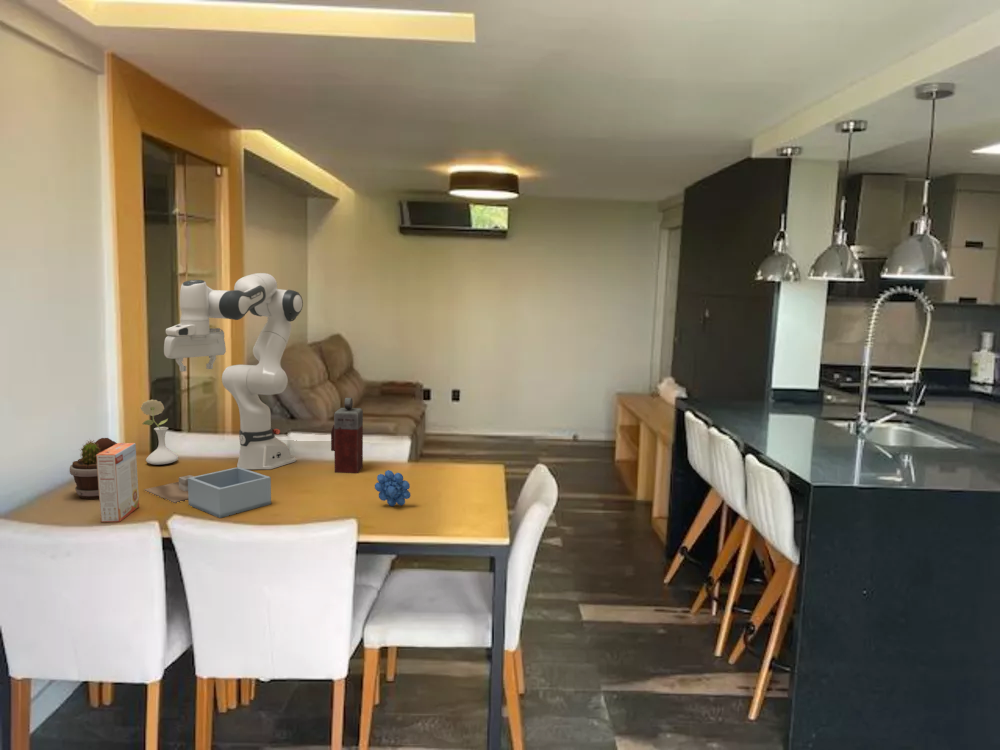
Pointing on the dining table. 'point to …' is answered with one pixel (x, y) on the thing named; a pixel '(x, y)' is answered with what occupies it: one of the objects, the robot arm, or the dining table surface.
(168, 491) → the lid
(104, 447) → the ice cream bowl
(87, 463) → the flowerpot
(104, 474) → the cracker box
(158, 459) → the flower in vase
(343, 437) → the red grey canister
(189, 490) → the bin
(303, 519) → the dining table surface
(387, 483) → the blue knobby flower shape
